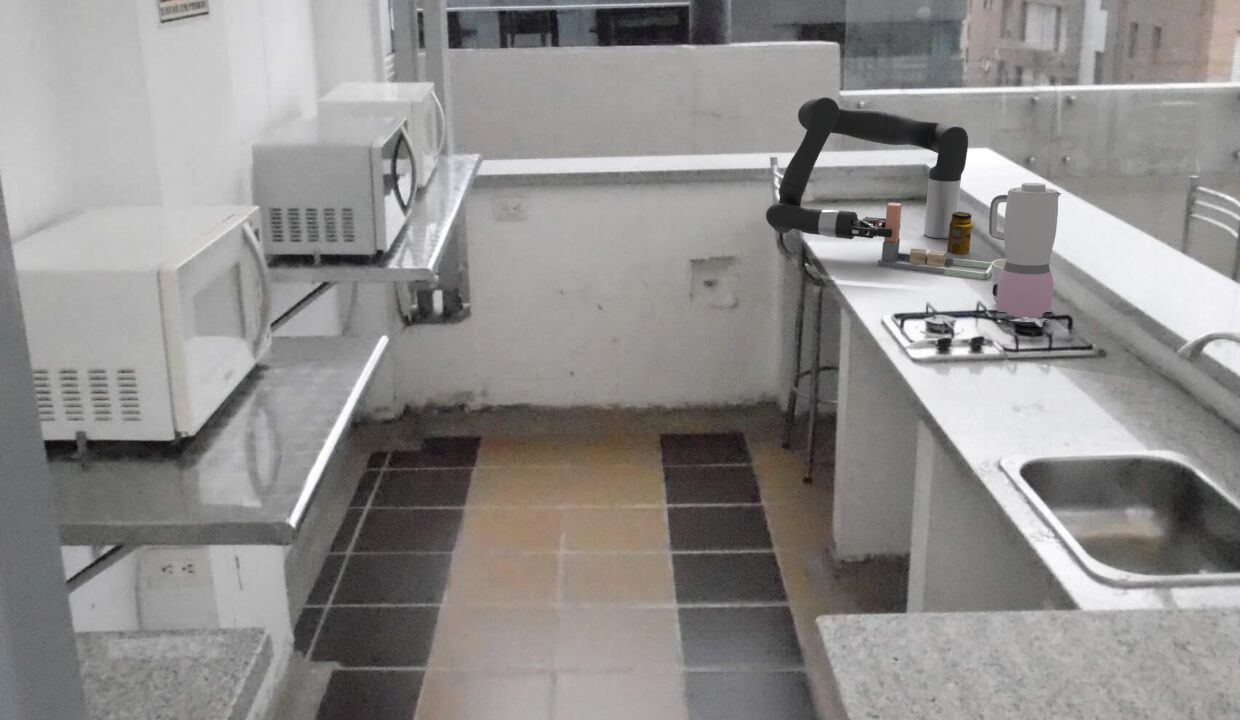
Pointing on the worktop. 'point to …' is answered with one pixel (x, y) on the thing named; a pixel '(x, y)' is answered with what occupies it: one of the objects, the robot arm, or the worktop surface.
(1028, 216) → the blender
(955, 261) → the tray
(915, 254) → the wooden cube
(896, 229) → the pink and grey block
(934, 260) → the chip
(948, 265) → the slot board
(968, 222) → the condiment
